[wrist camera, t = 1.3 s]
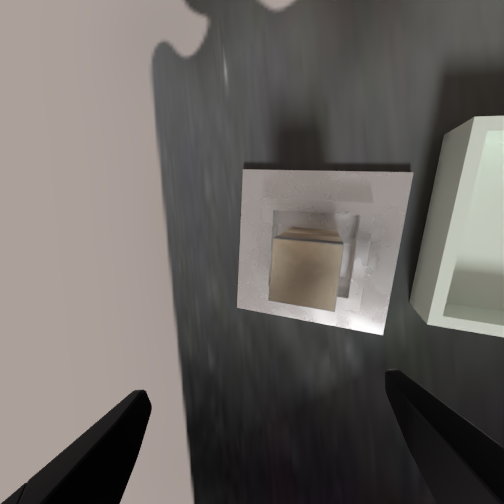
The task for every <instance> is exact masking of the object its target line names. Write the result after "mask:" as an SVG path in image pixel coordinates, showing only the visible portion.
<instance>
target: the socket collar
mask: <svg viewBox="0 0 504 504" xmlns="http://www.w3.org/2000/svg"><path fill="white" fill-rule="evenodd" d="M413 173H414V172H366V171H309V170H252V169H243V182H242V206H241V229H240V252H239V275H238V298H237V308H242V309H247V310H252V311H258V312H263V313H268V314H273V315H279V316H284V317H289V318H295V319H300V320H305V321H310V322H316V323H321V324H326V325H332V326H337V327H342V328H348V329H353V330H358V331H363V332H369V333H374V334H379V335H383V332H384V327H385V321H386V316H387V311H388V305H389V300H390V295H391V289H392V284H393V279H394V273H395V268H396V263H397V257H398V252H399V247H400V242H401V236H402V231H403V226H404V220H405V215H406V210H407V204H408V199H409V194H410V188H411V183H412V178H413ZM291 227H298V228H310V229H322V230H334V231H338V234H339V237H340V239H341V242H343V243H344V249H343V256H342V264H341V271H340V278H339V286H338V293H337V300H336V307H335V312H331V311H326V310H320V309H314V308H308V307H302V306H297V305H291V304H285V303H279V302H274V301H268V297H269V283H270V269H271V256H272V242H273V237H275V236H279V235H280V234H282V233H283V232H285V231H286V230H288V229H289V228H291Z"/></svg>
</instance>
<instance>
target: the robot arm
mask: <svg viewBox="0 0 504 504" xmlns="http://www.w3.org/2000/svg"><path fill="white" fill-rule="evenodd" d="M385 389H386V393H387V396H388V399H389V401H390V404H391V406H392V409H393V411H394V414H395V416H396V419H397V421H398V424H399V426H400V428H401V431H402V433H403V436H404V438H405V441H406V443H407V446H408V448H409V450H410V452H411V454H412V456H413V458H414V460H415V462H416V464H417V466H418V468H419V470H420V472H421V474H422V475H423V477H424V479H425V481H426V483H427V485H428V487H429V489H430V491H431V493H432V495H433V497H434V499H435V501H436V503H437V504H504V447H502V446H501V445H500V444H498V443H497V442H496V441H494V440H493V439H492V438H490V437H489V436H488V435H486V434H485V433H484V432H482V431H481V430H480V429H478V428H477V427H476V426H474V425H473V424H472V423H470V422H469V421H468V420H466V419H465V418H464V417H462V416H461V415H460V414H458V413H457V412H456V411H454V410H453V409H452V408H450V407H449V406H447V405H446V404H445V403H443V402H442V401H441V400H439V399H438V398H437V397H435V396H434V395H433V394H431V393H430V392H429V391H427V390H426V389H425V388H423V387H422V386H421V385H419V384H418V383H417V382H415V381H414V380H413V379H411V378H410V377H409V376H407V375H406V374H405V373H403V372H402V371H401V370H399V369H390V370H386V371H385ZM151 409H152V406H151V403H150V400H149V398H148V395H147V393H146V391H145V390H135V391H133V392H132V393H130V394H129V395H128V396H127V397H126V398H124V399H123V400H122V401H121V402H120V403H119V404H117V405H116V406H115V407H114V408H113V409H112V410H110V411H109V412H108V413H107V414H106V415H104V416H103V417H102V418H101V419H100V420H99V421H97V422H96V423H95V424H94V425H93V426H92V427H90V428H89V429H88V430H87V431H86V432H85V433H83V434H82V435H81V436H80V437H79V438H78V439H76V440H75V441H74V442H73V443H72V444H71V445H69V446H68V447H67V448H66V449H65V450H63V452H61V453H60V454H59V455H58V456H56V457H55V458H54V459H53V460H52V461H51V462H49V463H48V464H47V465H46V466H45V467H44V468H42V469H41V470H40V471H39V472H38V473H37V474H35V475H34V476H33V477H32V478H31V479H29V481H28V482H27V483H25V484H24V485H22V486H21V487H20V488H19V489H18V490H17V491H16V492H14V493H13V494H12V495H11V496H10V497H8V498H7V499H6V500H5V501H3V502H2V503H1V504H119V503H120V501H121V499H122V496H123V493H124V491H125V488H126V486H127V483H128V480H129V478H130V475H131V473H132V470H133V468H134V465H135V462H136V460H137V457H138V454H139V450H140V447H141V444H142V441H143V437H144V434H145V431H146V427H147V424H148V420H149V417H150V414H151Z"/></svg>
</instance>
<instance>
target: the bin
mask: <svg viewBox="0 0 504 504" xmlns="http://www.w3.org/2000/svg"><path fill="white" fill-rule="evenodd" d="M409 303H410V304H411V306H412V307H413V308H414V309H415V310H416V312H417V313H418V314H419V315H420V316H421V318H422V319H423V320H424V321H425V322H426V324H428V325H434V326H440V327H446V328H452V329H458V330H464V331H469V332H475V333H481V334H487V335H493V336H499V337H504V116H479V117H473V118H472V119H470V120H468V121H467V122H465V123H463V124H461V125H460V126H458V127H456V128H455V129H453V130H451V131H450V132H448V133H446V134H445V135H444V137H443V142H442V146H441V151H440V156H439V161H438V166H437V171H436V175H435V180H434V185H433V190H432V195H431V199H430V204H429V209H428V214H427V219H426V224H425V228H424V233H423V238H422V243H421V248H420V252H419V257H418V262H417V267H416V272H415V277H414V281H413V286H412V291H411V296H410V301H409Z"/></svg>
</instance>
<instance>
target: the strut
mask: <svg viewBox="0 0 504 504" xmlns="http://www.w3.org/2000/svg"><path fill="white" fill-rule="evenodd" d="M343 249H344V243H343V242H341V239H340V237H339V234H338V231H334V230H322V229H310V228H298V227H291V228H289V229H288V230H286V231H285V232H283V233H282V234H280V235H279V236H275V237H273V242H272V256H271V269H270V283H269V297H268V301H274V302H279V303H285V304H291V305H297V306H302V307H308V308H314V309H320V310H326V311H331V312H335V307H336V300H337V293H338V286H339V278H340V271H341V264H342V256H343Z"/></svg>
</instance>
